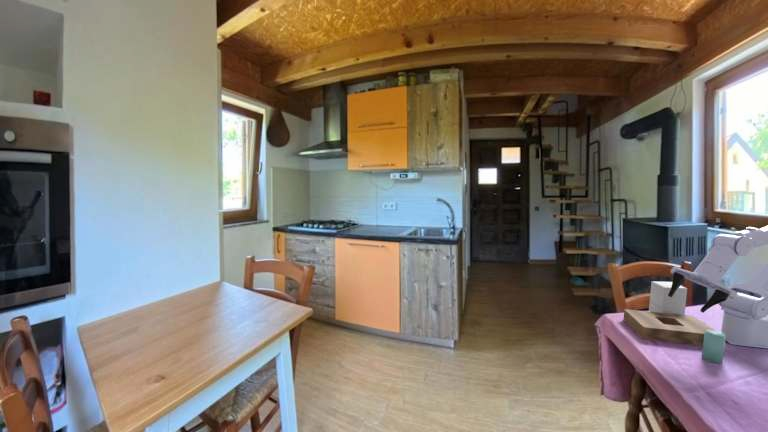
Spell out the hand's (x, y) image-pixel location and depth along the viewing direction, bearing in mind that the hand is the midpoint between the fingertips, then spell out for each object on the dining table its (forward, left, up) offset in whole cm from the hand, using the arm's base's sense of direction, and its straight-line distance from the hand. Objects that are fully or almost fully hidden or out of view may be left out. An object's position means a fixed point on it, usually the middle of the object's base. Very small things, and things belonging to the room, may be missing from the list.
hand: (685, 303), depth 91 cm
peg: (-5, +5, -14) cm, 16 cm away
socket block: (-2, -10, -14) cm, 17 cm away
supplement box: (-8, -24, -14) cm, 29 cm away
